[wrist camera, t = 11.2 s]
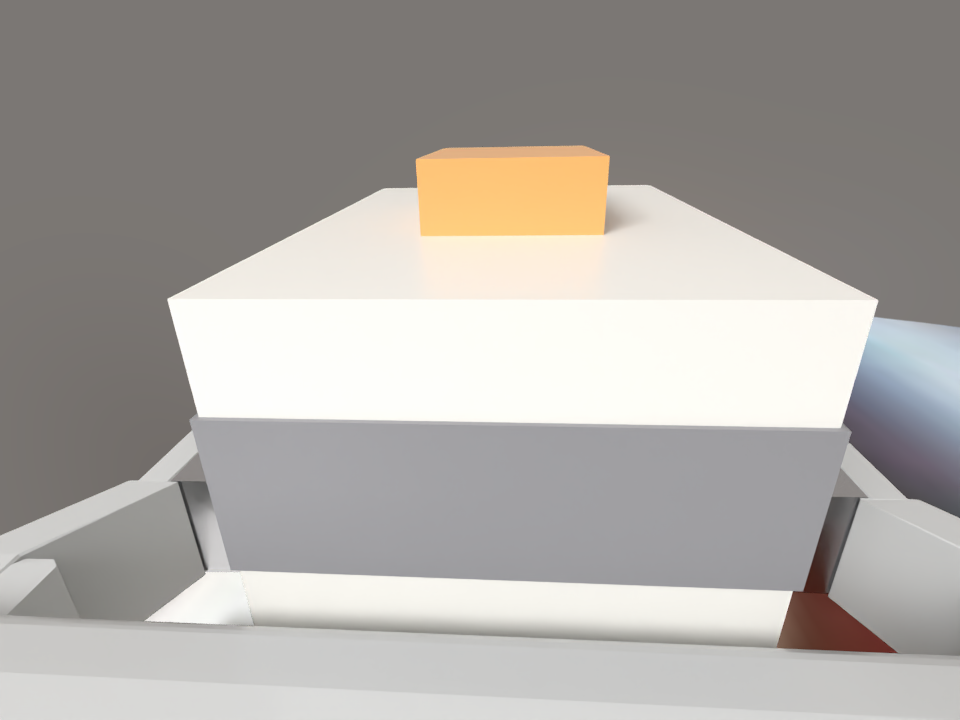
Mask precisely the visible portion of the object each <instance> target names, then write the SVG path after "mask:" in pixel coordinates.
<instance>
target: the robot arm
mask: <svg viewBox="0 0 960 720" xmlns="http://www.w3.org/2000/svg"><path fill="white" fill-rule="evenodd" d="M205 572H240V571H236V570H230V566H229V562H228V559H227V555H226V552H225V548H224V544H223V541H222V537H221V533H220V530H219V526H218V522H217V519H216V515H215V511H214V508H213V504H212V501H211V497H210V493H209V490H208V486H207V482H206V479H205V475H204V471H203V468H202V464H201V461H200V457H199V453H198V450H197V446H196V442H195V439H194V435H193V431H191V432H190V433H189V434H188V435H187V436H186V437H185V438H183V439H182V440H181V441H180V442H179V443H178V444H177V445H176V446H175V447H174V448H173V449H172V450H171V451H170V452H169V453H167V455H165V456H164V457H163V458H162V459H161V460H160V461H159V462H158V463H157V464H156V465H155V466H154V467H153V468H152V469H150V470H149V471H148V472H147V473H146V474H145V475H144V476H143V477H142V478H141V479H140V480H139V481H128V482H125V483H123V484H121V485H118V486H116V487H114V488H111V489H109V490H107V491H104V492H102V493H99V494H97V495H95V496H92V497H90V498H88V499H86V500H83V501H81V502H79V503H76V504H74V505H71V506H69V507H67V508H64V509H62V510H60V511H57V512H55V513H52V514H50V515H48V516H46V517H43V518H41V519H38V520H36V521H34V522H31V523H29V524H27V525H25V526H22V527H20V528H18V529H15V530H13V531H10V532H8V533H6V534H3V535H1V536H0V720H960V518H958V517H956V516H954V515H951V514H949V513H947V512H945V511H942V510H940V509H938V508H936V507H934V506H931V505H929V504H927V503H925V502H922V501H920V500H911V499H907V498H906V497H905V496H904V495H903V494H902V493H901V492H900V491H899V490H897V489H896V488H895V487H894V486H893V485H892V484H891V483H890V482H889V481H888V480H887V479H886V478H885V477H884V476H883V475H882V474H881V473H880V472H879V471H878V470H877V469H876V468H875V467H874V466H873V465H872V464H871V463H870V462H868V461H867V460H866V459H865V458H864V457H863V456H862V455H861V454H860V453H859V452H858V451H857V450H856V449H855V448H854V447H853V446H852V445H851V444H850V443H848V445H847V448H846V452H845V455H844V458H843V462H842V465H841V468H840V471H839V475H838V478H837V481H836V485H835V488H834V491H833V494H832V498H831V501H830V504H829V508H828V511H827V514H826V517H825V521H824V524H823V527H822V531H821V534H820V537H819V540H818V544H817V547H816V550H815V554H814V557H813V560H812V563H811V567H810V570H809V573H808V577H807V580H806V583H805V587H804V590H803V591H793V592H803V593H819V594H829V595H828V597H829V598H830V599H832V600H833V601H834V602H835V603H837V604H838V605H839V606H840V607H842V608H843V609H844V610H845V611H847V612H848V613H849V614H850V615H852V616H853V617H854V618H855V619H857V620H858V621H859V622H860V623H862V624H863V625H864V626H865V627H867V628H868V629H869V630H870V631H872V632H873V633H874V634H875V635H876V636H878V637H879V638H880V639H881V640H883V641H884V642H885V643H886V644H888V645H889V646H890V647H891V648H893V649H894V650H895V651H896V652H898V653H875V652H852V651H829V650H806V649H783V648H760V647H737V646H714V645H691V644H668V643H644V642H621V641H598V640H575V639H550V638H526V637H501V636H477V635H453V634H429V633H406V632H383V631H360V630H336V629H313V628H290V627H267V626H244V625H220V624H197V623H174V622H151V621H145V620H146V619H147V618H148V617H150V616H151V615H152V614H154V613H155V612H156V611H158V610H159V609H160V608H162V607H163V606H164V605H166V604H167V603H168V602H170V601H171V600H172V599H174V598H175V597H176V596H178V595H179V594H180V593H181V592H183V591H184V590H185V589H187V588H188V587H189V586H191V585H192V584H193V583H195V582H196V581H197V580H199V579H200V578H201V577H203V576H204V575H205Z"/></svg>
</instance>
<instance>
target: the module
mask: <svg viewBox="0 0 960 720" xmlns="http://www.w3.org/2000/svg"><path fill="white" fill-rule="evenodd" d="M609 157H610V156H608V155H606V154H603V153H601V152H598V151H596V150H593V149H591V148H588V147H586V146H536V147H479V148H444V149H441V150H439V151H436V152H433V153H431V154H428V155H426V156H423V157H420V158H418V159H416V170H417V184H418V188H384V189H382V190H380V191H378V192H376V193H374V194H372V195H370V196H368V197H366V198H364V199H362V200H360V201H358V202H357V203H355V204H353V205H351V206H349V207H347V208H345V209H343V210H341V211H339V212H337V213H335V214H333V215H331V216H329V217H327V218H325V219H323V220H321V221H319V222H317V223H315V224H313V225H312V226H309V227H307V228H306V229H304V230H302V231H300V232H298V233H296V234H294V235H292V236H290V237H288V238H286V239H284V240H282V241H280V242H278V243H276V244H274V245H272V246H270V247H268V248H266V249H264V250H262V251H260V252H259V253H257V254H255V255H253V256H251V257H249V258H247V259H245V260H243V261H241V262H239V263H237V264H235V265H233V266H231V267H229V268H227V269H225V270H223V271H221V272H219V273H217V274H215V275H213V276H212V277H210V278H208V279H206V280H204V281H202V282H200V283H198V284H196V285H194V286H192V287H190V288H188V289H186V290H184V291H182V292H180V293H178V294H176V295H175V296H172V297H170V298H168V299H167V300H168V303H169V307H170V311H171V315H172V318H173V322H174V326H175V330H176V333H177V337H178V341H179V344H180V348H181V352H182V356H183V360H184V364H185V367H186V371H187V375H188V379H189V382H190V386H191V390H192V393H193V397H194V401H195V404H196V408H197V412H198V413H197V414H196V415H195V416H193V418H191V419H190V424H191V428H192V431H193V435H194V439H195V442H196V446H197V450H198V453H199V457H200V461H201V464H202V468H203V471H204V475H205V479H206V482H207V486H208V490H209V493H210V497H211V501H212V504H213V508H214V511H215V515H216V519H217V522H218V526H219V530H220V533H221V537H222V541H223V544H224V548H225V552H226V555H227V559H228V562H229V566H230V570H236V571H240V574H241V578H242V582H243V585H244V589H245V593H246V597H247V600H248V604H249V608H250V612H251V615H252V619H253V623H254V626H267V627H290V628H313V629H336V630H360V631H383V632H406V633H429V634H453V635H477V636H501V637H526V638H550V639H575V640H598V641H621V642H644V643H668V644H691V645H714V646H737V647H760V648H776V647H777V644H778V640H779V637H780V634H781V630H782V627H783V623H784V620H785V617H786V613H787V610H788V606H789V603H790V599H791V596H792V593H793V591H803V590H804V587H805V583H806V580H807V577H808V573H809V570H810V567H811V563H812V560H813V557H814V554H815V550H816V547H817V544H818V540H819V537H820V534H821V531H822V527H823V524H824V521H825V517H826V514H827V511H828V508H829V504H830V501H831V498H832V494H833V491H834V488H835V485H836V481H837V478H838V475H839V471H840V468H841V465H842V462H843V458H844V455H845V452H846V448H847V445H848V442H849V438H850V435H851V431H850V430H849V429H848V428H847V427H846V426H845V425H844V424H843V423H842V422H843V419H844V416H845V412H846V409H847V405H848V402H849V399H850V395H851V392H852V388H853V385H854V382H855V378H856V375H857V371H858V368H859V364H860V361H861V358H862V354H863V351H864V347H865V344H866V341H867V337H868V334H869V330H870V327H871V324H872V320H873V317H874V313H875V310H876V307H877V303H878V300H877V299H875V298H873V297H871V296H869V295H867V294H865V293H863V292H861V291H859V290H857V289H855V288H853V287H851V286H849V285H847V284H845V283H843V282H841V281H839V280H837V279H835V278H833V277H831V276H829V275H827V274H825V273H823V272H821V271H819V270H817V269H815V268H813V267H811V266H809V265H807V264H805V263H803V262H801V261H799V260H797V259H795V258H793V257H791V256H789V255H787V254H785V253H783V252H781V251H779V250H777V249H775V248H773V247H771V246H770V245H768V244H766V243H764V242H761V241H760V240H758V239H755V238H753V237H752V236H749V235H748V234H745V233H744V232H742V231H740V230H738V229H735V228H734V227H732V226H729V225H728V224H726V223H724V222H722V221H719V220H718V219H716V218H714V217H712V216H710V215H708V214H706V213H704V212H702V211H700V210H698V209H696V208H694V207H692V206H690V205H688V204H686V203H684V202H682V201H680V200H678V199H676V198H674V197H672V196H670V195H668V194H666V193H664V192H662V191H660V190H658V189H656V188H654V187H652V186H650V185H618V186H617V185H613V186H607V184H608V171H609Z"/></svg>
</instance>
